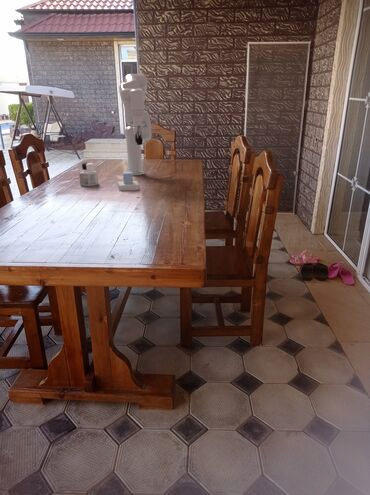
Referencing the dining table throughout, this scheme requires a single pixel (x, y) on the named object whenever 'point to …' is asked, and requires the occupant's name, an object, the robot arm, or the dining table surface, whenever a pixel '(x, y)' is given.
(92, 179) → the container
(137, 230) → the dining table surface
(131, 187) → the base tile
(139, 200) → the dining table surface
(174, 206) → the dining table surface
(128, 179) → the blue block
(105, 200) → the dining table surface
